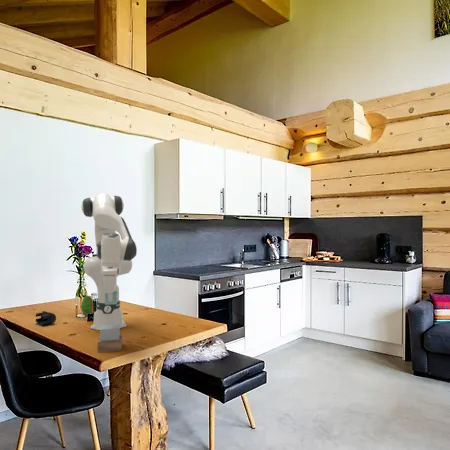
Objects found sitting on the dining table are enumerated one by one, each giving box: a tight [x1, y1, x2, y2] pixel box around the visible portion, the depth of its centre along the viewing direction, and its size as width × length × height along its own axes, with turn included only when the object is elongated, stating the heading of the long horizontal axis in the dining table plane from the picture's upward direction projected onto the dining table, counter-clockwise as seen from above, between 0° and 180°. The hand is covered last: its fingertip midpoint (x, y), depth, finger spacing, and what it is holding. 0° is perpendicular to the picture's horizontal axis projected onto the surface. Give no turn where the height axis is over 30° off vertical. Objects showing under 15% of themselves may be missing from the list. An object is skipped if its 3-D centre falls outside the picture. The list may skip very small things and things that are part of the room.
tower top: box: [99, 324, 121, 341], centre depth 177 cm, size 8×8×5 cm
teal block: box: [105, 291, 117, 305], centre depth 177 cm, size 5×5×5 cm
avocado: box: [80, 295, 93, 316], centre depth 245 cm, size 8×8×12 cm
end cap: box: [35, 310, 57, 328], centre depth 221 cm, size 10×7×7 cm
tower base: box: [97, 334, 123, 353], centre depth 177 cm, size 10×10×5 cm
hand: (111, 299), depth 177 cm, fingers closed on teal block, 5 cm apart
